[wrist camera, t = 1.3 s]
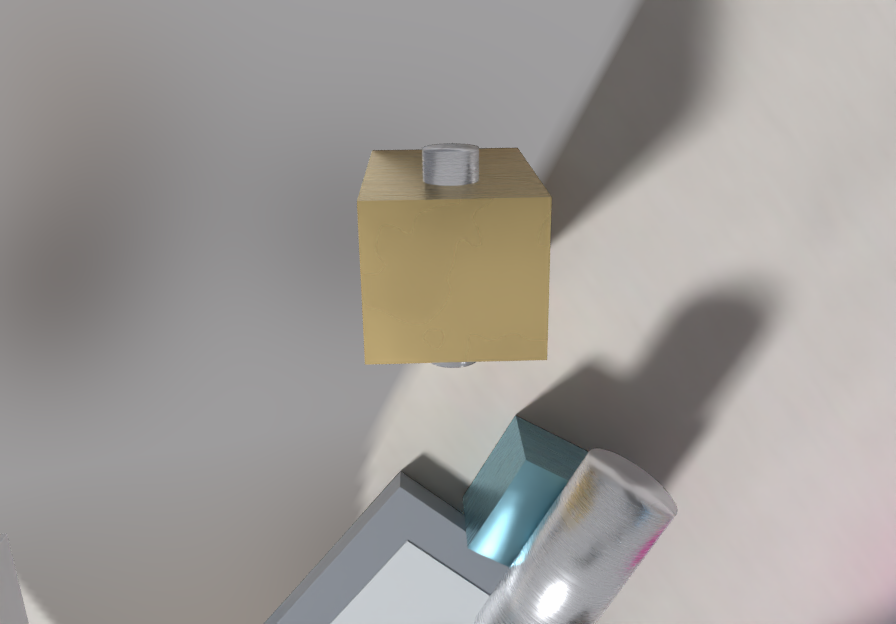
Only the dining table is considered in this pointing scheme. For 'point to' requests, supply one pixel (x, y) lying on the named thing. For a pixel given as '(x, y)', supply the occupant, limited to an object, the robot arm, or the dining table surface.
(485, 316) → the block
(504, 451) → the shaft
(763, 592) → the dining table surface
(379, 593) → the cradle
